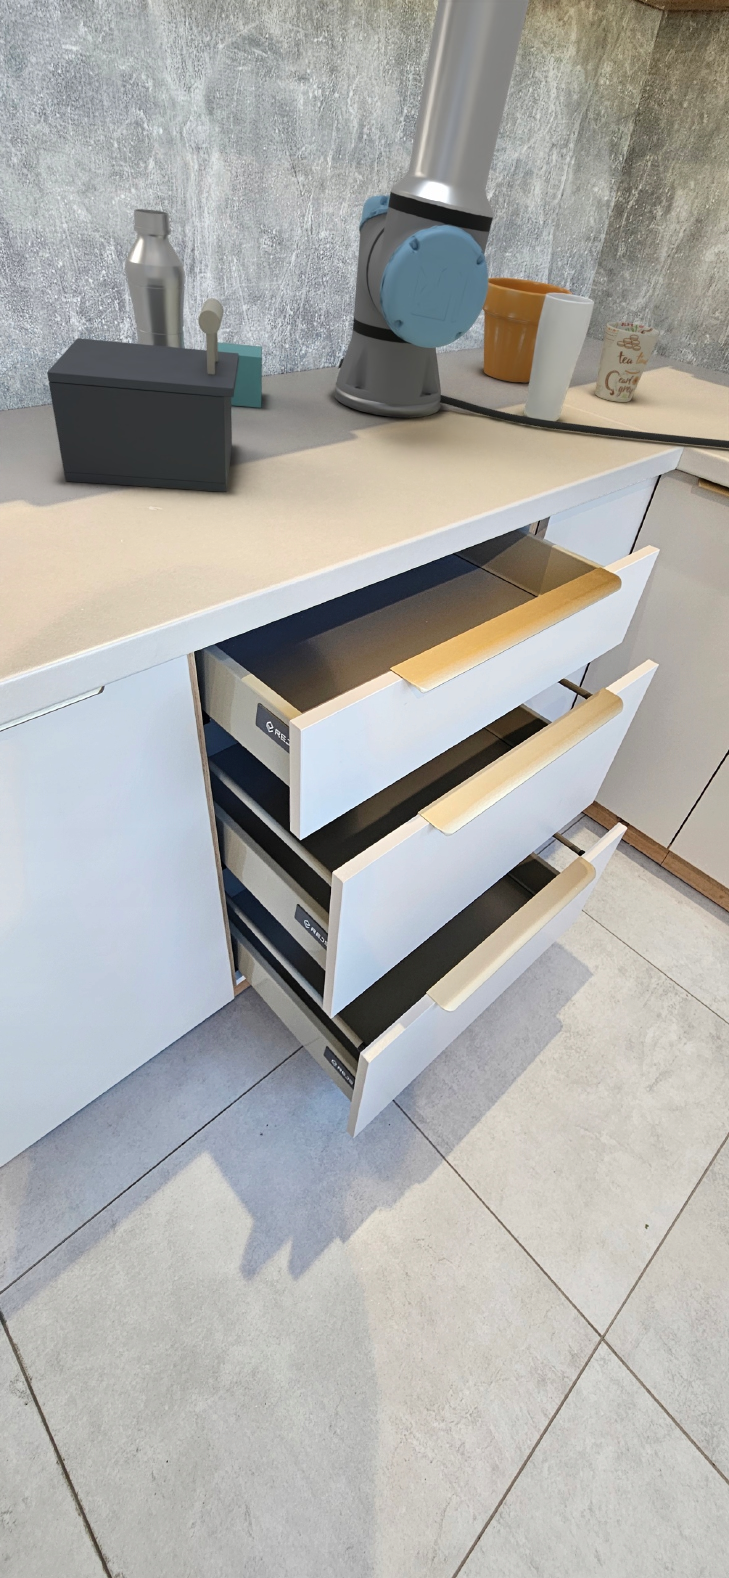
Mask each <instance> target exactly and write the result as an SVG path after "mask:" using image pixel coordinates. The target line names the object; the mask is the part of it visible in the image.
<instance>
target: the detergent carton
mask: <svg viewBox="0 0 729 1578" xmlns="http://www.w3.org/2000/svg"><path fill="white" fill-rule="evenodd" d="M218 351H219V352H229V353H238V354H239V364H238V370H237V377H236V384H235V390H234V397H231V406H235V407H246V408H258V409H261V408H262V397H263V396H262V395H263V394H262V393H263V385H262V384H263V347H262V346H260V345H252V344H251V345H250V344H240V343H230V342H220V341H218Z"/></svg>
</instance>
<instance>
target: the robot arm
mask: <svg viewBox="0 0 729 1578" xmlns="http://www.w3.org/2000/svg"><path fill="white" fill-rule="evenodd" d="M529 3H530V0H437V6H436V11H435V17H434V23H433V29H432V32H431V33H432V34H431V40H430V46H429V51H428V57H427V62H426V68H425V74H424V79H423V86H422V91H421V98H420V103H419V109H418V114H417V120H416V126H415V131H414V137H413V143H412V149H411V154H410V160H409V164H408V165H409V166H408V170H407V172H406V173H405V175H404V176H403V177H402V178H400V179H399V180H398V181H397V182H396V183H395V184H394V185H393V186H391V187H390V192H389V193H390V194H389V195H383V194H380V195H373V196H370V197H368V198H367V199H366V200H365V202H364V203H363V207H362V213H361V219H360V222H359V225H358V231H359V243H358V255H357V272H356V284H355V295H354V296H355V297H354V307H353V308H354V310H353V320H352V321H353V324H352V333H351V339H350V340H349V343H348V346H347V349H346V352H345V355H344V357H343V358H341V359H340V361H339V364H338V367H337V369H338V370H339V371H338V374H337V376H336V380H335V384H334V385H335V386H334V387H335V388H334V397H335V399H336V400H337V401H338V402H339V403H340V404H342V405H344V406H346V407H349V408H351V409H354V410H357V411H360V412H363V413H367V414H372V415H378V416H385V417H393V418H420V417H427V416H431V415H433V414H435V413H437V412H438V411H439V410H440V407H441V404H443V405H447V406H451V407H454V408H459V409H462V410H465V411H468V412H470V413H474V414H478V415H481V416H485V417H490V418H493V419H497V420H501V421H506V422H511V423H516V424H520V425H526V426H531V427H537V428H544V429H550V430H557V431H558V430H559V431H564V432H565V431H566V432H567V431H568V432H575V433H584V434H590V435H599V436H607V437H614V438H615V437H616V438H623V439H624V438H625V439H633V440H634V439H635V440H643V441H653V442H663V443H672V444H682V445H689V446H690V445H691V446H700V447H710V448H722V449H729V440H727V439H716V438H715V439H714V438H707V437H706V438H705V437H695V436H685V435H675V434H666V433H658V432H657V433H656V432H646V431H638V430H630V429H629V430H628V429H621V428H611V427H603V426H595V425H587V424H580V423H571V422H563V421H557V420H556V421H549V420H542V419H536V418H530V417H527V416H526V415H525V416H524V415H520V414H515V413H511V412H504V411H500V410H497V409H492V408H488V407H485V406H480V405H477V404H474V403H471V402H468V401H464V400H461V399H457V398H454V397H451V396H447V395H443V394H442V387H441V379H440V372H439V364H438V355H437V348H441V347H445V346H448V345H451V344H452V343H454V342H455V341H457V340H459V339H460V338H461V337H463V336H464V335H466V334H467V332H468V331H469V330H470V329H471V328H472V327H473V325H475V323H476V321H477V320H478V319H479V317H480V315H481V313H482V311H483V309H482V308H483V306H484V303H485V300H486V296H487V290H488V278H489V272H488V271H489V270H488V264H487V260H486V256H485V253H486V249H487V244H488V240H489V238H490V237H489V236H490V232H491V227H492V224H493V220H494V215H495V214H494V211H493V208H492V206H491V203H490V201H489V199H488V196H487V191H486V189H487V185H488V180H489V176H490V173H491V167H492V164H493V159H494V154H495V151H496V145H497V141H498V137H499V132H500V130H501V129H500V128H501V125H502V119H503V115H504V111H505V106H506V103H507V98H508V93H509V89H510V85H511V80H512V78H513V77H512V76H513V72H514V69H515V63H516V58H517V55H518V51H519V46H520V43H521V38H522V33H523V28H524V26H525V21H526V16H527V12H528V7H529Z"/></svg>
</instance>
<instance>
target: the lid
mask: <svg viewBox="0 0 729 1578" xmlns="http://www.w3.org/2000/svg"><path fill="white" fill-rule="evenodd" d="M223 317H224V307H223V304H222V303H221V302H220V300H218V299H217V298H215V297H214V298H213V297H211V298H208V299H206V300H205V301H204V303H203V304H202V308H201V310H200V313H199V316H198V319H197V323H198V326H199V328H200V331H202V332H203V333H204V334H205V341H206V342H205V343H206V349H195V348H186V347H185V348H176V347H166V346H155V345H144V344H138V343H132V342H131V343H130V342H123V341H111V340H102V339H91V338H90V339H89V338H81V337H80V338H78V337H77V338H76V339H75V340H74V341H73V342H72V343H71V344H70V345H69V347H68V348H66V350H65V351H64V352H63V354H62V355H61V356H60V357H59V358H58V359H57V360H56V361H55V363H54V364H53V365H52V366H51V367H50V368H48V370H47V372H46V374H47V381H48V383H49V382H60V383H71V384H83V385H95V386H106V387H118V388H130V389H141V390H153V391H164V392H176V393H188V394H199V395H211V396H223V397H234V390H235V384H236V377H237V370H238V364H239V354H238V353H229V352H219V351H218V342H219V340H218V337H219V336H218V332H219V330H220V328H221V324H222V320H223Z"/></svg>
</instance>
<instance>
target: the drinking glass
mask: <svg viewBox="0 0 729 1578" xmlns="http://www.w3.org/2000/svg"><path fill="white" fill-rule="evenodd" d="M594 306H595V301H594V300H593V299H591V298H589V297H586V296H581V295H576V294H572V295H571V294H564V293H547V294H546V296H545V300H544V303H543V307H542V311H541V315H540V319H539V324H538V329H537V335H536V341H535V348H534V355H533V361H532V368H531V375H530V381H529V382H528V387H527V394H526V399H525V404H524V408H523V413H524V415H525V417H530V418H536V419H542V420H549V421H556V422H557V421H558V420H559V419H560V417H561V414H562V410H563V407H564V402H565V400H566V398H567V394H568V392H569V387H570V385H571V382H572V379H573V377H574V373H575V370H576V368H577V364H578V362H579V359H580V356H581V353H582V351H583V347H584V344H585V341H586V338H587V335H588V332H589V328H590V324H591V320H592V316H593V312H594V311H593V310H594Z"/></svg>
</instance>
